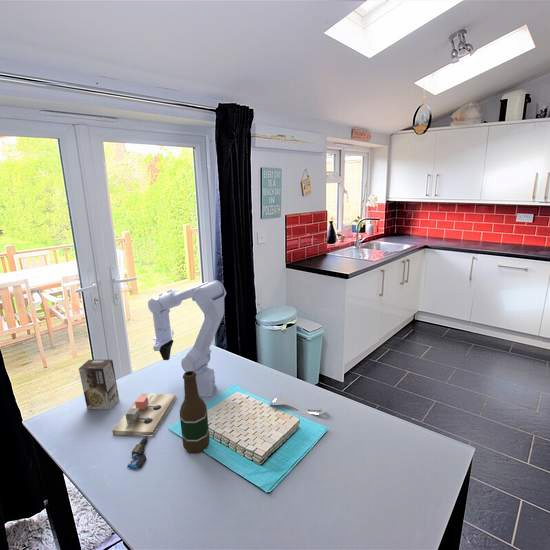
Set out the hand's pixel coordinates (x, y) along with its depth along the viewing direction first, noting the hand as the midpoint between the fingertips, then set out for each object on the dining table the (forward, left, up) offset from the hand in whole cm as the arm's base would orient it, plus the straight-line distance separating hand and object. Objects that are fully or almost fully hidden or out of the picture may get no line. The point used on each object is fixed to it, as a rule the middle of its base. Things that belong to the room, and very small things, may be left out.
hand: (166, 359), depth 140 cm
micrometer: (-7, +38, -10) cm, 40 cm away
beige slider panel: (0, +21, -9) cm, 23 cm away
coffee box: (+18, +16, -10) cm, 26 cm away
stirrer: (-51, +15, -10) cm, 54 cm away
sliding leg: (0, +19, -7) cm, 21 cm away
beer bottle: (-22, +34, -10) cm, 42 cm away
